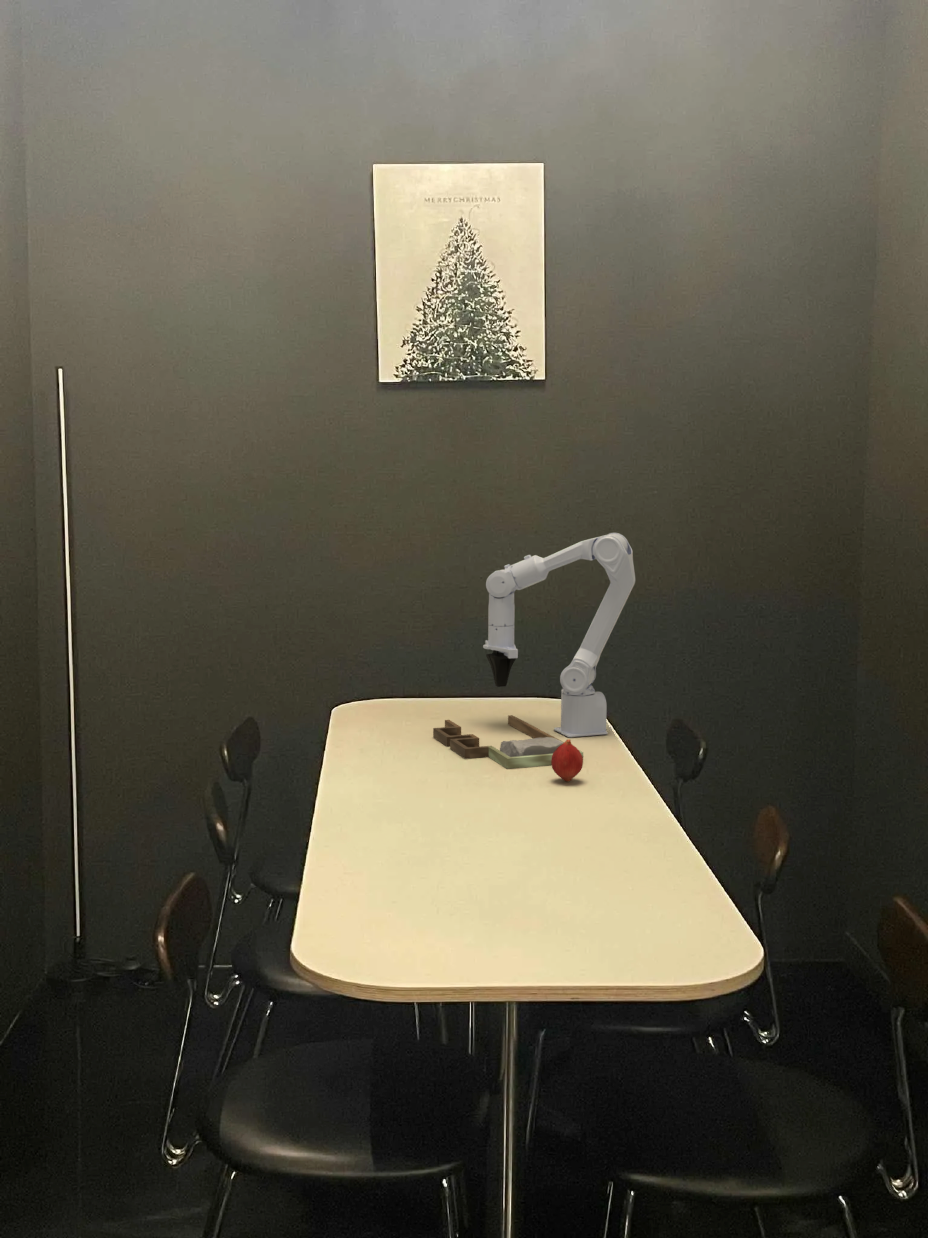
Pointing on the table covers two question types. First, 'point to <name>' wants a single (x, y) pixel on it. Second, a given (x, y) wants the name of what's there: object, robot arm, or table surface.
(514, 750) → the stone block
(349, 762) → the table surface
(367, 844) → the table surface
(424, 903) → the table surface
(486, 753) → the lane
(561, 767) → the onion
